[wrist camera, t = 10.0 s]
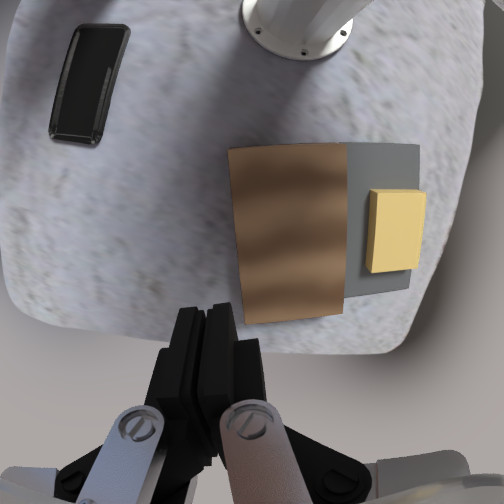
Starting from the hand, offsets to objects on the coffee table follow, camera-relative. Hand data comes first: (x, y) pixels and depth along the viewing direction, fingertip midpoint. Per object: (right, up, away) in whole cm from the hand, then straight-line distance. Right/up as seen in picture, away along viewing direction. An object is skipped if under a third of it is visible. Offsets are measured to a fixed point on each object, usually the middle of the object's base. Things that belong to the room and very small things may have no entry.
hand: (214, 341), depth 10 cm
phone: (-18, +23, +19) cm, 35 cm away
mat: (+17, +7, +27) cm, 32 cm away
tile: (+19, +5, +25) cm, 32 cm away
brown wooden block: (+5, +6, +27) cm, 28 cm away
